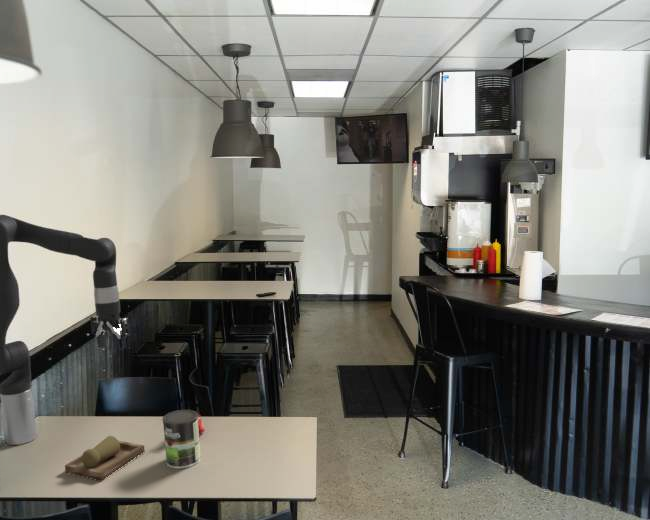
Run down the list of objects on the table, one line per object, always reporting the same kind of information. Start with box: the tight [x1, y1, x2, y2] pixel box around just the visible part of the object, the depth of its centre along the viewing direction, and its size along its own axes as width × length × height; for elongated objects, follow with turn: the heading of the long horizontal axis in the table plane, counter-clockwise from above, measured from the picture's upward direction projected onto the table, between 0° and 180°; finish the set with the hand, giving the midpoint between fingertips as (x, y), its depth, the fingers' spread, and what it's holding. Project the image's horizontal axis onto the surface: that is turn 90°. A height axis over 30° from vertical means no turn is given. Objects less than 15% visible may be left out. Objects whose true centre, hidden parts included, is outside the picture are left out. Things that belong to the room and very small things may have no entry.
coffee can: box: [161, 409, 202, 470], centre depth 177 cm, size 10×10×14 cm
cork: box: [81, 435, 120, 467], centre depth 176 cm, size 6×6×11 cm
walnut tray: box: [64, 440, 145, 482], centre depth 178 cm, size 14×18×2 cm
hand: (112, 348), depth 193 cm, fingers open, 8 cm apart
